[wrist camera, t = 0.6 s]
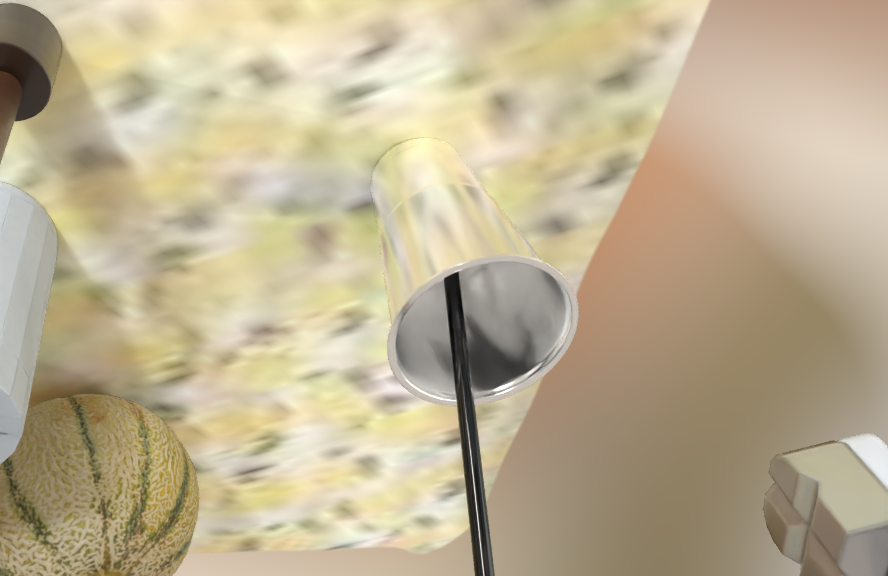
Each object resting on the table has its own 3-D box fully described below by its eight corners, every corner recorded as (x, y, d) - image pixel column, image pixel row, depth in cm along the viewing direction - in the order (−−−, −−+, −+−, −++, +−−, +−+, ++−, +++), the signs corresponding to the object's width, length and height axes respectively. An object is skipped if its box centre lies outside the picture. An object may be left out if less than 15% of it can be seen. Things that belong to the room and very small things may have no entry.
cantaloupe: (-59, 465, 58) (-117, 669, 47) (23, 320, 52) (-20, 513, 41) (143, 509, 66) (135, 693, 54) (233, 387, 60) (246, 565, 49)
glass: (369, 283, 57) (493, 714, 35) (305, 153, 50) (409, 593, 27) (513, 224, 57) (731, 618, 35) (470, 85, 50) (711, 471, 27)
